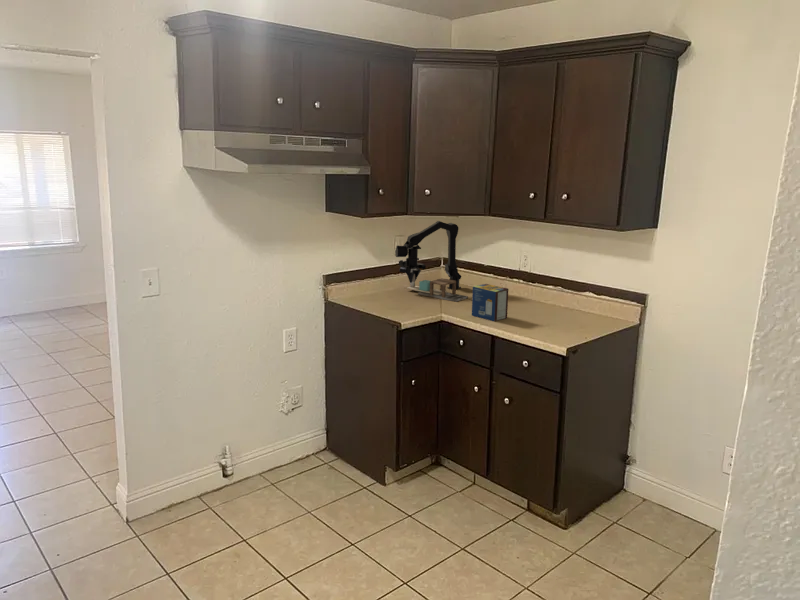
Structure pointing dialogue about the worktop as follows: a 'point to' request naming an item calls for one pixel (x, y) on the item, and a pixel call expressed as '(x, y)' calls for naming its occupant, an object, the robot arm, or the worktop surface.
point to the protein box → (490, 302)
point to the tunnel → (444, 290)
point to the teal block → (424, 285)
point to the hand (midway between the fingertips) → (412, 282)
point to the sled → (416, 288)
